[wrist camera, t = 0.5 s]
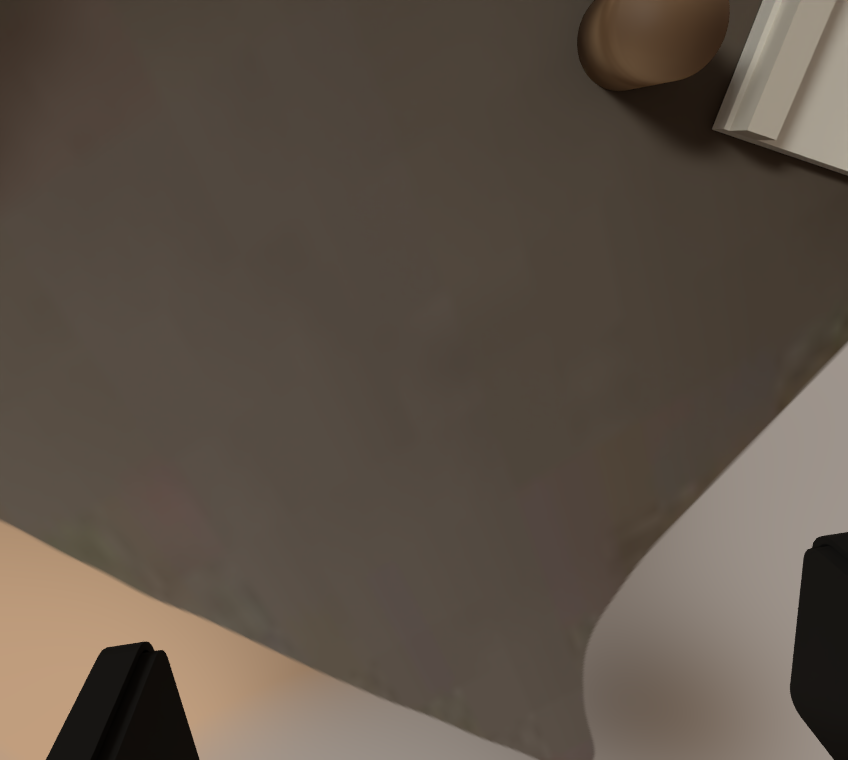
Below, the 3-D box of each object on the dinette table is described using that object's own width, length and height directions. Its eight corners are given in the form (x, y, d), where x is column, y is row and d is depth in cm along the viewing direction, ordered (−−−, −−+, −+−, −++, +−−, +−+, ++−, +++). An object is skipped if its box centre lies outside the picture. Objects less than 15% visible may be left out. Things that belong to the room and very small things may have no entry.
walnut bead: (597, -29, 31) (645, -64, 26) (684, 3, 32) (748, -24, 26) (564, 74, 32) (603, 61, 27) (648, 103, 33) (702, 96, 28)
